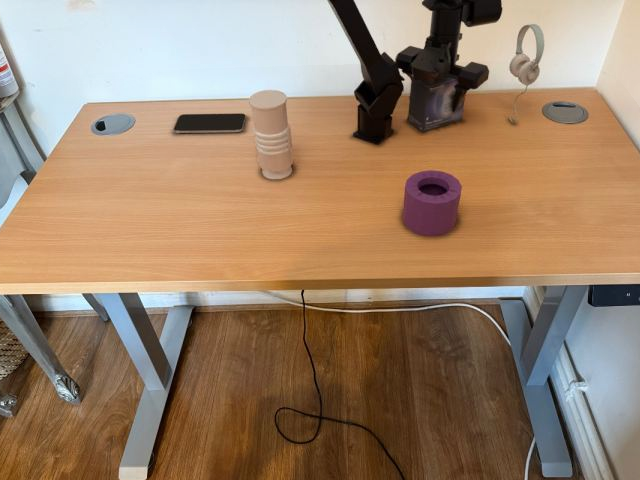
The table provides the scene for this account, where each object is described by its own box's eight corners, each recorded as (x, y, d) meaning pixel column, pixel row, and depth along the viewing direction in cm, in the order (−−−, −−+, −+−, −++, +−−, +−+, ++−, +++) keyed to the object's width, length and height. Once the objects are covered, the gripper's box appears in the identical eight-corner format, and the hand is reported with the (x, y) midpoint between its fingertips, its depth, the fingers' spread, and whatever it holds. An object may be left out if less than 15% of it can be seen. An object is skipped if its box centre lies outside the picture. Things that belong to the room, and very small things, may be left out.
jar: (392, 223, 93) (395, 190, 88) (420, 197, 98) (423, 164, 93) (439, 243, 89) (444, 210, 84) (465, 215, 94) (471, 181, 89)
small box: (422, 134, 113) (427, 86, 105) (406, 121, 117) (409, 74, 109) (463, 121, 116) (470, 74, 109) (445, 108, 120) (451, 62, 113)
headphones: (529, 130, 113) (554, 32, 98) (512, 133, 112) (535, 35, 98) (512, 111, 119) (533, 16, 104) (495, 114, 118) (514, 19, 104)
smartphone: (241, 129, 115) (172, 130, 115) (242, 132, 115) (173, 133, 116) (245, 113, 120) (179, 114, 120) (246, 115, 120) (180, 116, 121)
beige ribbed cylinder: (287, 183, 102) (279, 110, 91) (254, 177, 104) (242, 105, 93) (299, 163, 107) (293, 92, 96) (267, 158, 108) (257, 87, 97)
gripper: (381, 34, 102) (379, 109, 114) (469, 56, 94) (457, 135, 106) (411, 15, 108) (406, 89, 120) (497, 35, 100) (482, 112, 112)
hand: (436, 106), depth 114 cm, fingers open, 8 cm apart
